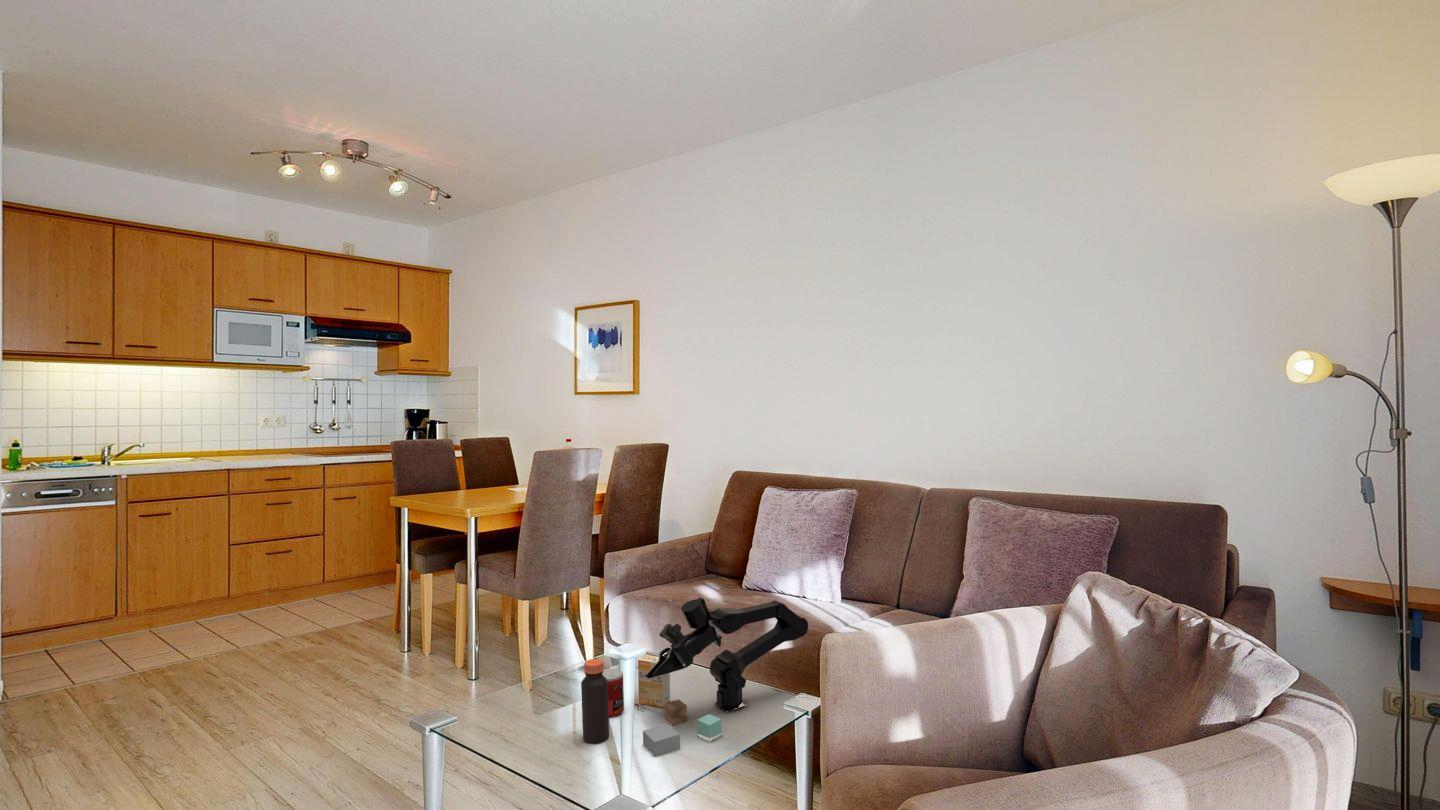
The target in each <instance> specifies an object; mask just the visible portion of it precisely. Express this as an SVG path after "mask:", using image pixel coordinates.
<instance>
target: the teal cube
mask: <svg viewBox="0 0 1440 810" xmlns="http://www.w3.org/2000/svg"><path fill="white" fill-rule="evenodd" d="M722 724H723V723H722V718H719V717H718V716H714V715H712V714H710V713H709V714H706V715H704V716H702V717H701V718H698V719H696V725H697V726H696V728H697V729H696V730H697V732H696V733H697V734H700V735H703V736H705V737H708V738H711V737H714V736H716V735H718V734H720V733H722V734H723V728H722V727H723V725H722Z"/></svg>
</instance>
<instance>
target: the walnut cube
mask: <svg viewBox="0 0 1440 810" xmlns="http://www.w3.org/2000/svg"><path fill="white" fill-rule="evenodd" d="M687 709H688V707H687V704H686V703H684V702H683V701H682V700H680V699H676V700H672V701H671V700H670V702H668V703H664V720H665V722H668V723H669V724H670V726H671V727H672V726H676V725H679V724H683V723H685V721H686V722H688V710H687Z"/></svg>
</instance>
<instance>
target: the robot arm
mask: <svg viewBox="0 0 1440 810" xmlns="http://www.w3.org/2000/svg"><path fill="white" fill-rule="evenodd" d="M680 610H681V612H682V614H683V616H684V619H685V620H686V623H687V625H688V626H689V628H690V629H694V630H692V631H691V632H689V633H686V634H685V635H684V634H683V632H682V631H681V630H682V625H680V624H678V623H676V624H674V625H672V623H667V624H665V625H664V627H663V628H662V629H661V631H660V632H659V634H658V635H659V637H660V638H663V639H665V641H667V642H668V643H670V647H665V648H663V649H662V650H661V651H659V653H658V656H659V660H658V662H657V663H656V664H655V666H654V667H653V668H652V669H651V670H650V671H649V673H648V674H647V675H646V676H647V678H648V679H649V678H652V677H657V676H661V675H664V674H667V673H670V674H671V673H674V672H678V671H681V670H684V669H685V668H688V667H689V666H691V665H693V663H694V658H695V657H696V656H697V655H700V654H701V653H703V652H702V651H704V650H705V649H706V648H708V647H710V646H711V644H714V645H716V646H717V647H721V645H722V639H723V636H721V634H719V633H718V632H717V631H719V632H721V633H723V634H725V635H731V634H734V633H735V632H737V631H740V630H741V628H743V627H744V626H746V625H750V624H754V623H758V622H762V621H767V620H771V619H775V620H777V621H776V623H775V625H774V627H773V628H771V629H770V630H769V631H767V632H765V633H764V634H763V635H761V636H759V637H758V638H756V639H753V641H750V642H749V643H748V644H747V645H745V646H743V647H742V648H740V649H739V650H737V651H735V652H732V651H731V650H729V649H725V650H723V651H722V652H721V653H720V654H716V655H715V656H714V657H715V658H713V659H712V660H711V662H710V665H709V673H710V675H711V676H712V677H713V678H714V680H715V681H716V682H717V683H718V684H717V690H716V702H715V705H716V706H717V705H718V706H717V707H718V708H720V707H721V708H722V710H723V709H724V710H725V711H724V710H723V711H724V712H726V711H729V712H731V711H730V710H733V709H735V708H738V707H739V705H740V704H741V703H742V702H743V689H744V688H745V687H746V683H747V679H746V678H745V677H744V676H742V675H743V673H744V671H745V669H746V668H747V667H748V666H750V665H751V664H752V663H754V662H756V661H757V660H759V658H762V657H763V656H765V655H766V654H767V653H769V652H771V651H772V650H774V649H775V648H777V647H778V646H780V645H782V644H783V643H785V642H791V641H796V640H798V639H800V638H803V637H804V636H806V635H807V633H808V629H809V621H808V620H807V619H806V618H805V617H802V616H801V615H797V614H796V613H795V612H794V611H792V610H791V609H790V608H789V607H788V606H787V605H786V604H784V603H783V602H780V601H778V600H775V599H774V600H771V601H769V602H765V603H760V604H756V605H751V606H748V607H742V608H729V607H725V608H722V607H721V608H717V609H715V610H709V609H708V606H707V604H706V601H705V599H704V598H703V597H698V598H696V599H692V600H689V601H688V600H687V601H686V602H685V603H683V604H682V606H681V608H680ZM721 708H720V709H721ZM733 711H734V710H733Z"/></svg>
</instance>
